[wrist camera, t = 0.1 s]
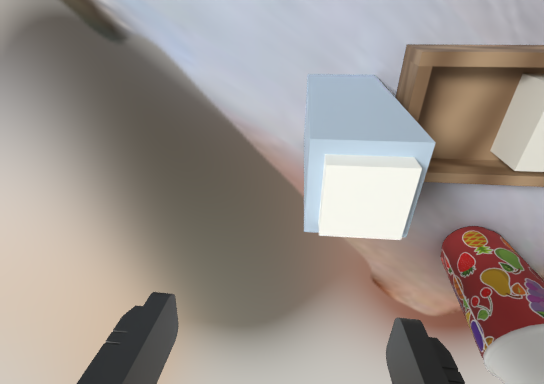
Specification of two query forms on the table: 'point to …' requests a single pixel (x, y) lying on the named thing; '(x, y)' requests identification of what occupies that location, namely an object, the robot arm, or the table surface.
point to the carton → (360, 159)
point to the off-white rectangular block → (523, 127)
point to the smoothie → (498, 303)
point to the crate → (466, 106)
